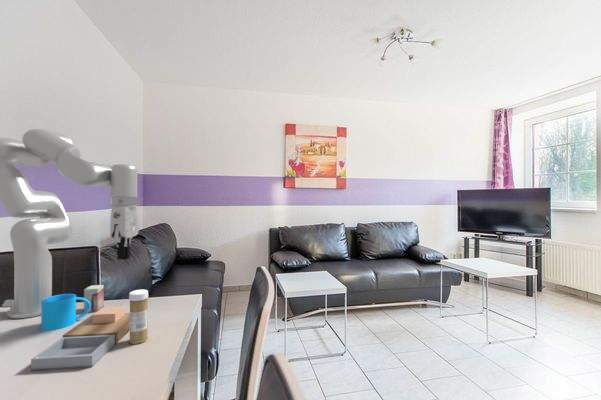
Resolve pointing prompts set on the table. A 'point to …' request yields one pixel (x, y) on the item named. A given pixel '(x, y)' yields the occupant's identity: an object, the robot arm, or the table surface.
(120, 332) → the board
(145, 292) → the sprinkles bottle
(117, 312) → the tile
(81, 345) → the tray
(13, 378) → the table surface
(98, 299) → the small box
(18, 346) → the table surface
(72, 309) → the mug
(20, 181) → the robot arm
